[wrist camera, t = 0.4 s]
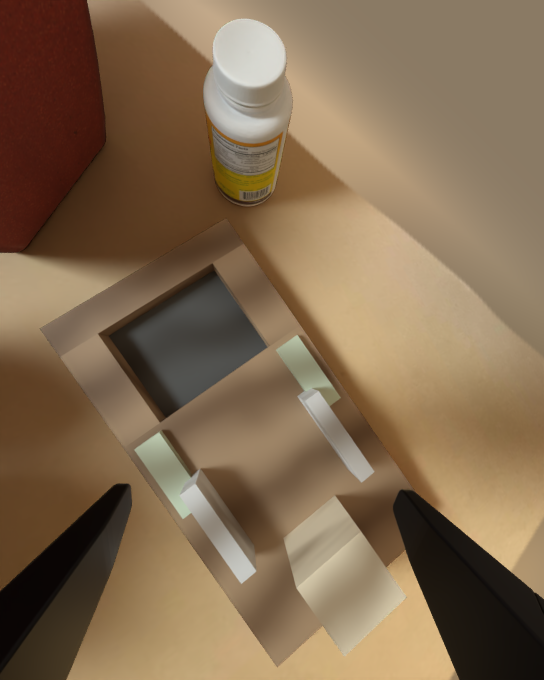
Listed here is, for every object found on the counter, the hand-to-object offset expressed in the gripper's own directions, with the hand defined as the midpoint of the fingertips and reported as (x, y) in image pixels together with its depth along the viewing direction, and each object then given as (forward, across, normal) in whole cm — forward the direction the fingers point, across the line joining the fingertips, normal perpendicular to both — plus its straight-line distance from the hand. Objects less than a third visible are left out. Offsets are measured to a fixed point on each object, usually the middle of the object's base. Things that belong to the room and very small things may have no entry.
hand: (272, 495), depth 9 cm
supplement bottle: (+22, +2, -12) cm, 25 cm away
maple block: (+7, -7, +13) cm, 16 cm away
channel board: (+12, 0, +7) cm, 14 cm away
